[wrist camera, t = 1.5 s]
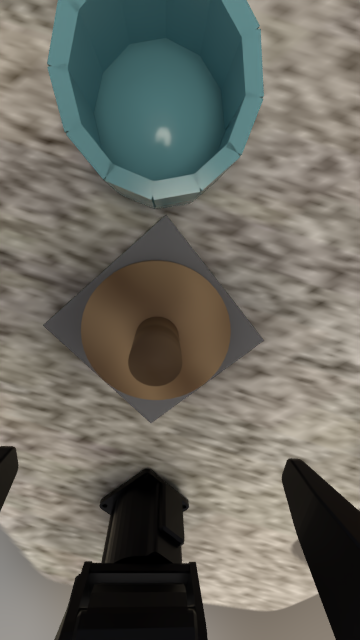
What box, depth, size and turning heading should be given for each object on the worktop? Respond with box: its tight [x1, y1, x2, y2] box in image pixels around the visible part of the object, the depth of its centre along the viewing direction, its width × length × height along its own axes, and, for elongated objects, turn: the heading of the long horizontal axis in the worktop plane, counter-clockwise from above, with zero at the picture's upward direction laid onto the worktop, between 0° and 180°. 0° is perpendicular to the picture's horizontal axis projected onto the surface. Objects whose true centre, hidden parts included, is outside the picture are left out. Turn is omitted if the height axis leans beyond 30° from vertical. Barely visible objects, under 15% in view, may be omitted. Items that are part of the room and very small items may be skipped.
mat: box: [43, 215, 264, 423], centre depth 20 cm, size 12×12×1 cm
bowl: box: [47, 0, 264, 209], centre depth 13 cm, size 9×9×5 cm
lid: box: [81, 260, 231, 400], centre depth 17 cm, size 11×11×5 cm
